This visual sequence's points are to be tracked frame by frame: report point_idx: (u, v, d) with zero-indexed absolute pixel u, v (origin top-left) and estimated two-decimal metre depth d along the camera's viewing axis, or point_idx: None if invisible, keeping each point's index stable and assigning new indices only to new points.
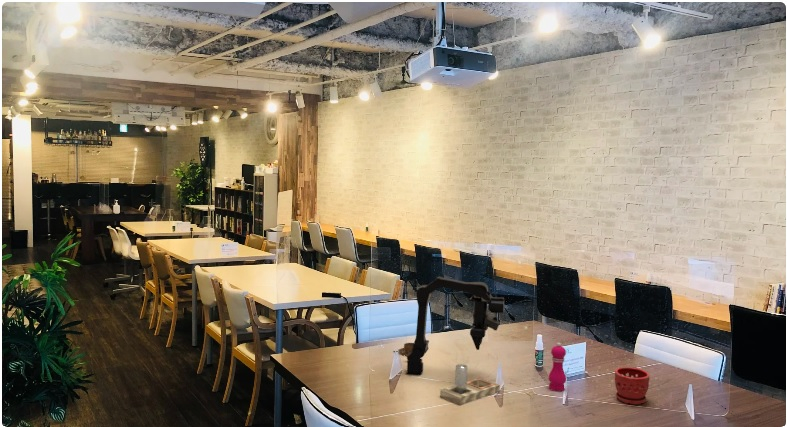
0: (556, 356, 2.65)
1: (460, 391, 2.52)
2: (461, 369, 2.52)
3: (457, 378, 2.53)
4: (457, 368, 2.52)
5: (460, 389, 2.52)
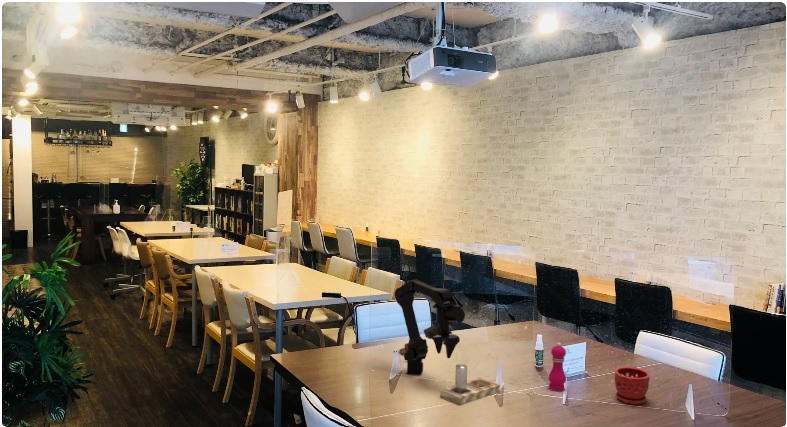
0: (556, 356, 2.65)
1: (460, 391, 2.52)
2: (461, 369, 2.52)
3: (457, 378, 2.53)
4: (457, 368, 2.52)
5: (460, 389, 2.52)
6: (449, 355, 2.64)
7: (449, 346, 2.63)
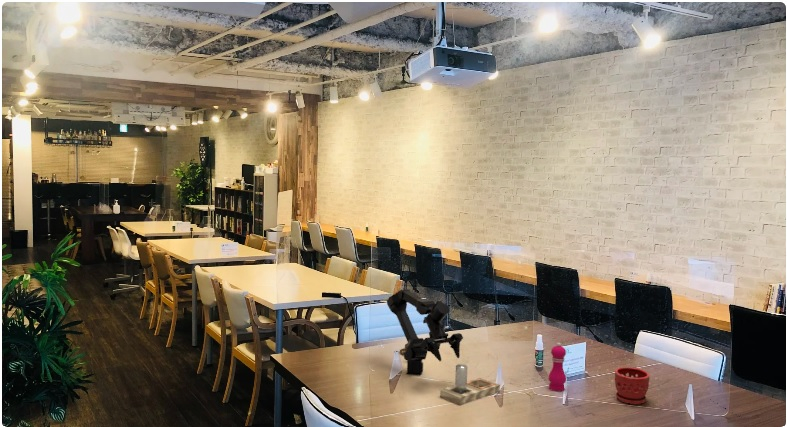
0: (556, 356, 2.65)
1: (460, 391, 2.52)
2: (461, 369, 2.52)
3: (457, 378, 2.53)
4: (457, 368, 2.52)
5: (460, 389, 2.52)
6: (438, 358, 2.58)
7: (433, 350, 2.60)
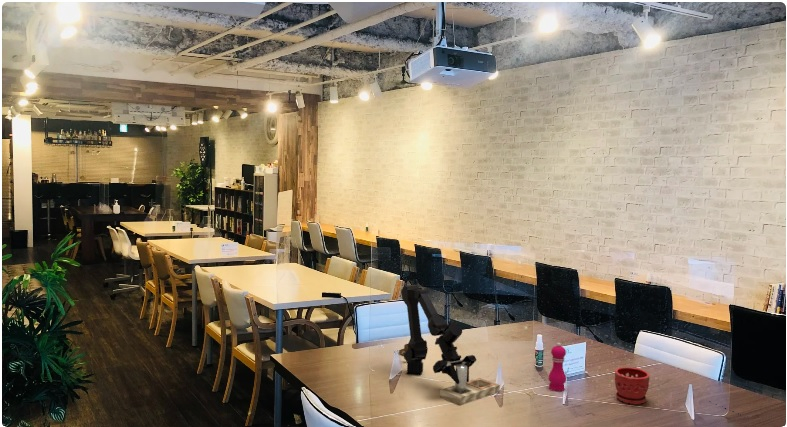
0: (556, 356, 2.65)
1: (460, 391, 2.52)
2: (461, 369, 2.52)
3: None
4: (457, 368, 2.52)
5: (460, 389, 2.52)
6: (456, 381, 2.52)
7: (450, 372, 2.54)
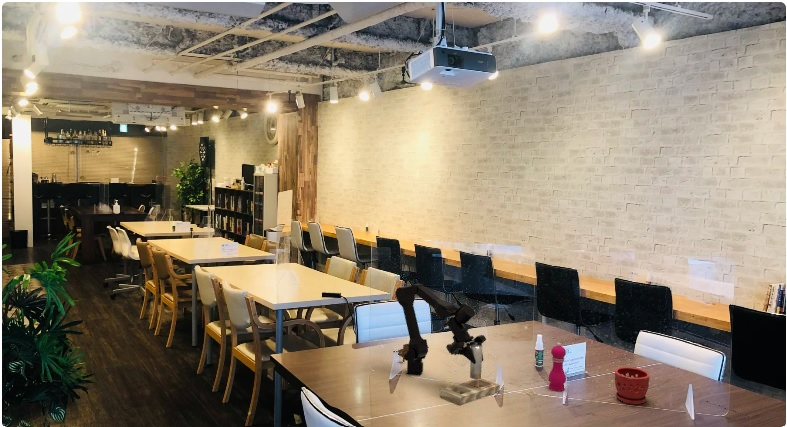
0: (556, 356, 2.65)
1: (477, 370, 2.57)
2: (478, 349, 2.56)
3: None
4: (473, 348, 2.57)
5: (477, 368, 2.57)
6: (473, 361, 2.56)
7: (466, 353, 2.58)
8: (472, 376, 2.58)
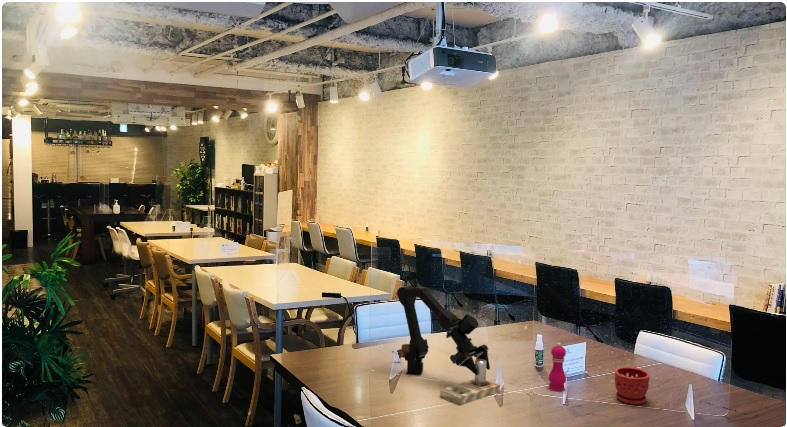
0: (556, 356, 2.65)
1: (482, 385, 2.60)
2: (482, 363, 2.59)
3: None
4: (478, 363, 2.60)
5: (482, 382, 2.60)
6: (475, 372, 2.57)
7: (468, 364, 2.58)
8: None
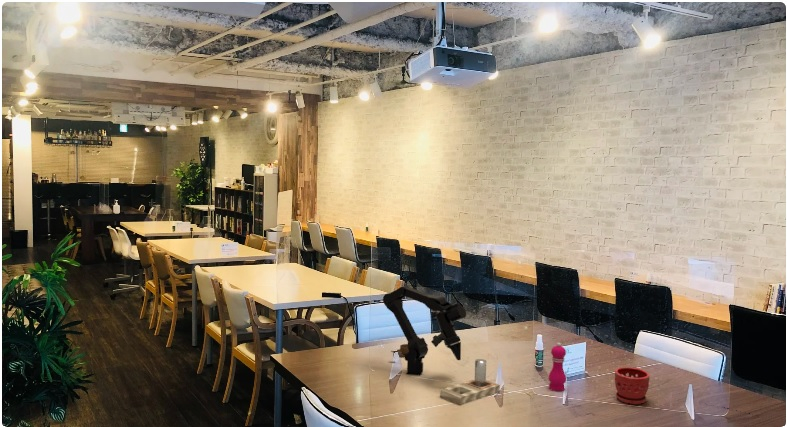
0: (556, 356, 2.65)
1: (482, 385, 2.60)
2: (482, 363, 2.59)
3: (478, 373, 2.60)
4: (478, 363, 2.60)
5: (482, 382, 2.60)
6: (459, 357, 2.64)
7: (454, 348, 2.65)
8: None
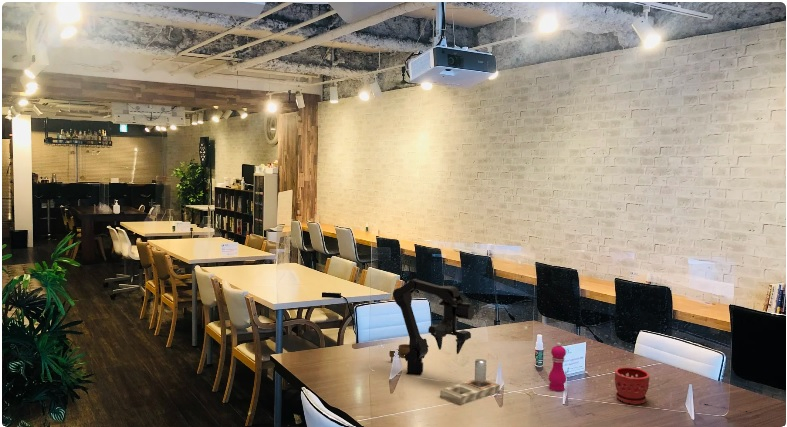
0: (556, 356, 2.65)
1: (482, 385, 2.60)
2: (482, 363, 2.59)
3: (478, 373, 2.60)
4: (478, 363, 2.60)
5: (482, 382, 2.60)
6: (459, 351, 2.70)
7: (460, 342, 2.69)
8: None
